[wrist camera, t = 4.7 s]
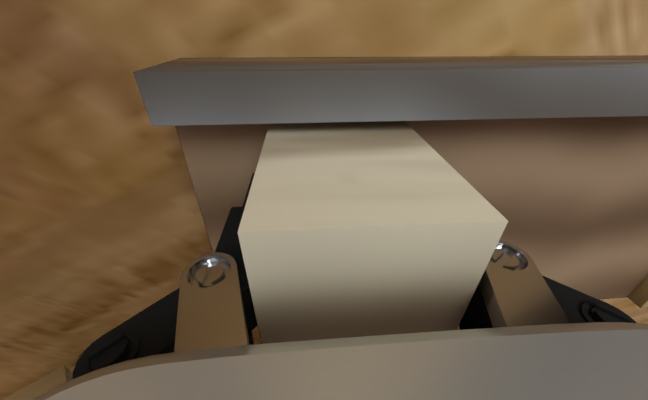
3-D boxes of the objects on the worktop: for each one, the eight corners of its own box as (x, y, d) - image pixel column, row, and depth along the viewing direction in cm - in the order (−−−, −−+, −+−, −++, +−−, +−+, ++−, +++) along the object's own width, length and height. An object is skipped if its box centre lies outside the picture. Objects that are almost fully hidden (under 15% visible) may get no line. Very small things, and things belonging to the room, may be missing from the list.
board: (180, 58, 10) (132, 72, 7) (826, 54, 12) (992, 65, 9) (240, 295, 18) (229, 347, 15) (632, 272, 20) (689, 315, 17)
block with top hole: (269, 123, 10) (236, 232, 5) (405, 121, 10) (508, 221, 5) (286, 288, 15) (279, 426, 10) (377, 283, 15) (416, 414, 10)
